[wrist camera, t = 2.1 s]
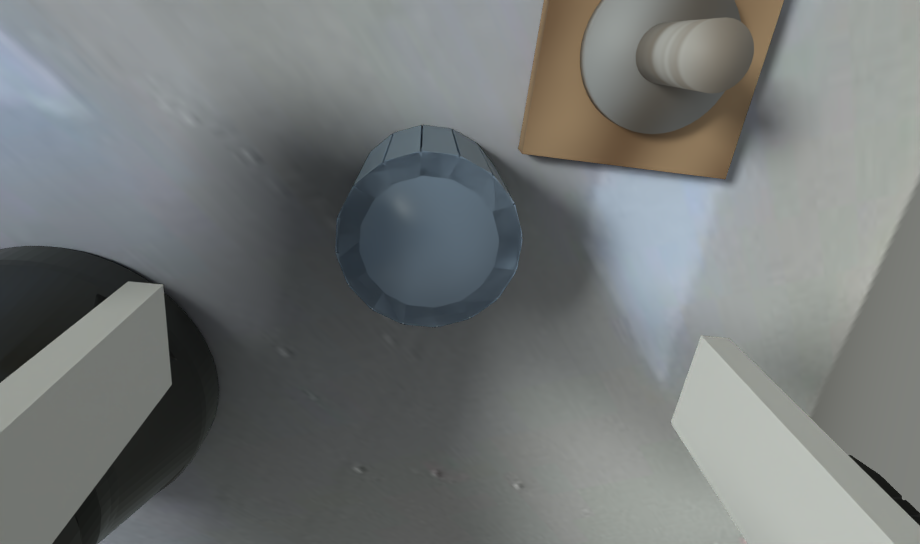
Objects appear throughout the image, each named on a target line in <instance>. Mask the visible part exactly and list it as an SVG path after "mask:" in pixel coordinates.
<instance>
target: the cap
mask: <svg viewBox="0 0 920 544" xmlns="http://www.w3.org/2000/svg"><path fill="white" fill-rule="evenodd" d="M522 237H523V236H522V231H521V227H520V223H519V218H518V214H517V210H516V205H515V203H514V201H513V199H512V197H511V196H510V194H509V192H508V190H507V188H506V187H505V185H504V183H503V181H502V179H501V177H500V176H499V174H498V172H497V170H496V168H495V167H494V165H493V164H492V162H491V161H490V160H489V158H488V157H487V156H486V154H485V153H484V152H483V150H482V149H481V148H480V146H479V145H477V143H476V142H474V141H472V140H470V139H469V138H467V137H465V136H464V135H462V134H460V133H458V132H457V131H455V130H451V128H443V127H435V126H427V125H423V130H422V126H421V125H420V126H416V127H413V128H409V129H406V130H402V131H399V132H395V133H394V135H393V134H391V135H390V136H389V137H388V138H387V139H385V140H384V141H383V142H382V143H380V144H379V145H378V146H377V147H375V148H374V149H373V150H372V151H371V152H370V153H369V155H368V157H367V159H366V161H365V163H364V165H363V167H362V169H361V171H360V173H359V175H358V177H357V179H356V181H355V183H354V185H353V187H352V189H351V191H350V193H349V195H348V197H347V199H346V201H345V202H344V204H343V206H342V208H341V210H340V212H339V214H338V216H337V225H336V247H335V252H336V256H337V259H338V261H339V264H340V266H341V269H342V271H343V274H344V277H345V279H346V282H347V284H349V287H350V288H351V289H352V290H353V291H354V292H355V293H356V294H357V295H358V296H359V297H360V298H361V299H362V300H363V301H364V302H365V303H366V305H367V306H368V307H369V308H370V309H371V308H373V311H375V312H377V313H379V314H382V315H384V316H386V317H388V318H390V319H392V320H394V321H397V322H399V323H401V324H402V323H404V325H415V326H426V327H436V326H438V327H441V326H445V325H448V324H452V323H456V322H460V321H464V320H467V319H469V317H471V318H472V317H473V316H475V315H476V314H478V313H479V312H481V311H482V310H483V309H485V308H486V307H488V306H489V305H491V304H492V303H493V302H495V301H496V300H497V298H499V297H500V296H501V294H502V293H503V291H504V290H505V288H506V287H507V285H508V283H509V282H510V280H511V279H512V277H513V276H514V274H515V273H516V271H515V270H517V267H518V261H519V256H520V251H521V246H522V240H523V238H522Z"/></svg>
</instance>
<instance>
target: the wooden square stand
mask: <svg viewBox="0 0 920 544" xmlns="http://www.w3.org/2000/svg"><path fill="white" fill-rule="evenodd" d="M783 2H784V0H544V3H543V9H542V15H541V21H540V26H539V32H538V38H537V44H536V49H535V55H534V61H533V67H532V72H531V78H530V84H529V90H528V96H527V101H526V107H525V113H524V119H523V124H522V130H521V136H520V142H519V147H518V149H519V150H520V152H521V153H522V154H528V155H536V156H544V157H552V158H560V159H568V160H576V161H584V162H592V163H600V164H608V165H616V166H624V167H632V168H640V169H648V170H656V171H664V172H672V173H680V174H688V175H696V176H704V177H712V178H720V179H726V176H727V173H728V170H729V167H730V164H731V160H732V157H733V154H734V151H735V148H736V145H737V142H738V139H739V136H740V133H741V130H742V127H743V124H744V121H745V118H746V115H747V112H748V109H749V106H750V103H751V100H752V96H753V93H754V90H755V87H756V84H757V81H758V78H759V75H760V72H761V69H762V66H763V63H764V60H765V57H766V54H767V51H768V48H769V45H770V42H771V39H772V36H773V33H774V29H775V26H776V23H777V20H778V17H779V14H780V11H781V8H782V5H783Z"/></svg>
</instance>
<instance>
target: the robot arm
mask: <svg viewBox="0 0 920 544" xmlns="http://www.w3.org/2000/svg"><path fill="white" fill-rule="evenodd" d="M217 405H218V378H217V373H216V368H215V365H214V361H213V358H212V356H211V353H210V351H209V348H208V346H207V344H206V342H205V340H204V339H203V337H202V335H201V334H200V332H199V331H198V329H197V327H196V326H195V325H194V323H193V322H192V321H191V319H190V318H189V317H188V316H187V315H186V314H185V312H184V311H183V310H182V309H181V308H180V307H179V306H178V305H177V304H176V303H175V302H174V301H173V300H172V299H171V298H169V297H168V296H167V295H166V294H165V293H164V289H163V285H161V284H151V283H150V282H149V281H147V280H146V279H144V278H142V277H141V276H139V275H137V274H136V273H134V272H132V271H130V270H128V269H126V268H124V267H122V266H120V265H118V264H115V263H113V262H111V261H108V260H105V259H103V258H100V257H97V256H94V255H91V254H87V253H83V252H79V251H75V250H70V249H65V248H57V247H47V246H22V247H12V248H4V249H0V544H98V543H99V542H100V541H102V540H103V539H104V538H105V537H106V536H107V535H109V534H110V533H111V532H112V531H113V530H115V529H116V528H117V527H118V526H119V525H120V524H122V523H123V522H124V521H125V520H126V519H127V518H129V517H130V516H131V515H132V514H133V513H135V512H136V511H137V510H138V509H139V508H140V507H141V506H142V505H144V504H145V503H146V502H147V501H148V500H149V499H150V498H151V497H153V496H154V495H155V494H156V493H158V492H159V491H161V490H162V489H163V488H165V487H166V486H167V485H169V484H170V483H171V482H173V481H174V480H175V479H176V478H177V477H178V476H179V475H180V474H181V473H182V472H183V471H184V469H185V468H186V467H187V466H188V464H189V463H190V462H191V460H192V459H193V457H194V456H195V454H196V452H197V451H198V449H199V447H200V445H201V444H202V442H203V440H204V438H205V436H206V435H207V433H208V431H209V429H210V427H211V425H212V423H213V420H214V417H215V414H216V410H217ZM671 424H672V426H673V427H674V429H675V431H676V432H677V434H678V435H679V437H680V438H681V440H682V442H683V443H684V445H685V446H686V448H687V449H688V451H689V453H690V454H691V456H692V457H693V459H694V460H695V462H696V464H697V465H698V467H699V468H700V470H701V471H702V473H703V475H704V476H705V478H706V479H707V481H708V482H709V484H710V486H711V487H712V489H713V490H714V492H715V493H716V495H717V497H718V498H719V500H720V501H721V503H722V505H723V506H724V508H725V509H726V511H727V512H728V514H729V516H730V517H731V519H732V520H733V522H734V523H735V525H736V527H737V528H738V530H739V531H740V533H741V534H742V536H743V538H744V539H745V541H746V542H747V544H920V513H919V512H918V511H917V510H916V509H915V508H914V507H913V506H912V505H911V504H910V503H909V502H907V501H906V500H902V496H901V495H900V494H899V493H898V492H897V491H896V490H895V489H894V488H893V487H892V486H891V485H890V484H889V483H888V482H887V481H886V480H885V479H884V478H883V477H881V476H880V475H879V474H878V473H876V472H875V471H873V470H872V469H870V468H869V467H867V466H866V465H864V464H863V463H862V462H860V461H859V460H857V459H855V458H854V457H853V456H851V455H847V454H846V453H845V452H844V451H843V450H842V449H841V448H840V447H839V446H838V445H837V444H836V443H835V442H834V441H833V440H832V439H831V438H830V437H829V436H828V435H827V434H826V433H825V432H824V431H823V430H822V429H821V428H820V427H819V426H818V425H817V424H816V423H815V422H814V421H813V420H812V419H811V418H810V417H809V416H808V415H807V414H806V413H805V412H804V411H803V410H802V409H801V408H800V407H799V406H798V405H797V404H796V403H795V402H794V401H793V400H792V399H791V398H790V397H789V396H787V395H786V394H785V393H784V392H783V391H782V390H781V389H780V388H779V387H778V386H777V385H776V384H775V383H774V382H773V381H772V380H771V379H770V378H769V377H768V376H767V375H766V374H765V373H764V372H763V371H762V370H761V369H760V368H759V367H758V366H757V365H756V364H755V363H754V362H753V361H752V360H751V359H750V358H749V357H748V356H747V355H746V354H745V353H744V352H743V351H742V350H741V349H740V348H739V347H738V346H737V345H736V344H735V343H734V342H733V341H732V340H731V339H730V338H721V337H710V336H701V338H700V340H699V343H698V346H697V349H696V352H695V355H694V358H693V360H692V363H691V366H690V369H689V372H688V375H687V378H686V380H685V383H684V386H683V389H682V392H681V395H680V398H679V400H678V403H677V406H676V409H675V412H674V415H673V418H672V420H671Z"/></svg>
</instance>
